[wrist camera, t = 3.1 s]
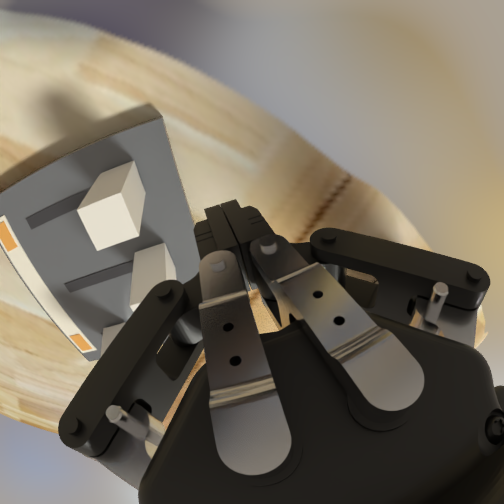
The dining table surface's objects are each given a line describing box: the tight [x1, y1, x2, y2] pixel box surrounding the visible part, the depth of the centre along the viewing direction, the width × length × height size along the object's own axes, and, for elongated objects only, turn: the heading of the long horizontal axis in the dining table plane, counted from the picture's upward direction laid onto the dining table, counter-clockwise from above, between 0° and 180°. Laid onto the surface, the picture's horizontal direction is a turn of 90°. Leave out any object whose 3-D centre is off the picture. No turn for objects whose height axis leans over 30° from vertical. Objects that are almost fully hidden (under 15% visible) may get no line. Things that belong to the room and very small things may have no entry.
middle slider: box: [130, 243, 176, 312], centre depth 22 cm, size 3×3×7 cm
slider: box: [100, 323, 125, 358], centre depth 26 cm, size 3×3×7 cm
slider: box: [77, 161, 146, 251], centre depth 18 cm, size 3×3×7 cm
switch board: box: [0, 116, 201, 361], centre depth 25 cm, size 20×24×2 cm
